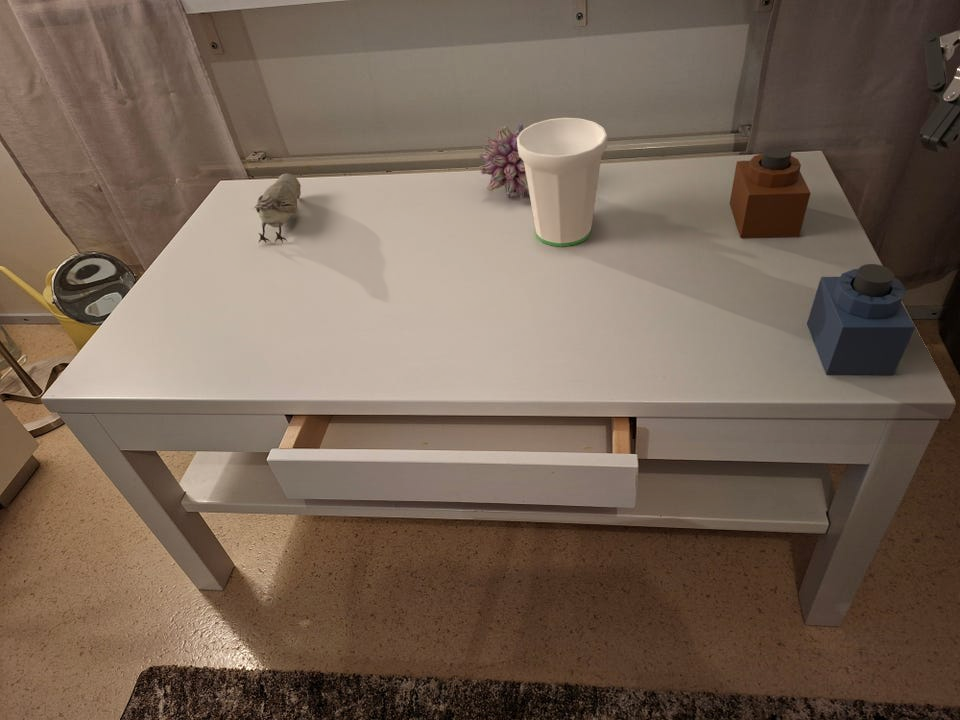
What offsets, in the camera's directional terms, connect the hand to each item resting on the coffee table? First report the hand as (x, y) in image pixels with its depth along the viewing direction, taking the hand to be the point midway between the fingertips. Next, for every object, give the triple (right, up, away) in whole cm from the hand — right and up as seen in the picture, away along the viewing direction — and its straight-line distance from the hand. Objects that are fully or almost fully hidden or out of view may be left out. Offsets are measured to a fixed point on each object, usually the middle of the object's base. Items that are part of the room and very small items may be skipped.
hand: (930, 146), depth 61 cm
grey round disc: (-1, +7, +31) cm, 32 cm away
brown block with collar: (0, +1, +37) cm, 37 cm away
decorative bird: (-75, +4, +51) cm, 91 cm away
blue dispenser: (+1, -18, +15) cm, 24 cm away
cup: (-29, 0, +40) cm, 49 cm away
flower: (-36, +8, +50) cm, 62 cm away
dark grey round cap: (0, -12, +10) cm, 15 cm away
